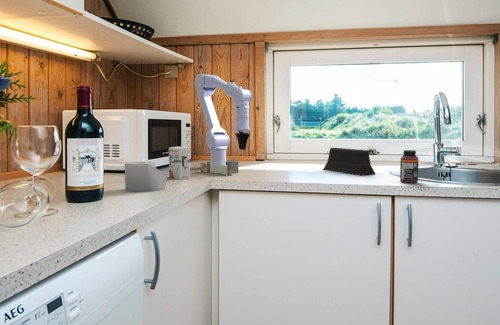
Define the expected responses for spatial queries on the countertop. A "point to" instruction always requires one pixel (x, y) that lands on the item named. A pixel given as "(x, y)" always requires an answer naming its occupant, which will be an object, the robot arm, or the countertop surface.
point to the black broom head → (349, 161)
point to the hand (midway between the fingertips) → (242, 149)
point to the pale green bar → (218, 168)
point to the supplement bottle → (409, 167)
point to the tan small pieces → (206, 168)
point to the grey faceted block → (233, 166)
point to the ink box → (179, 162)
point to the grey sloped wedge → (144, 177)
